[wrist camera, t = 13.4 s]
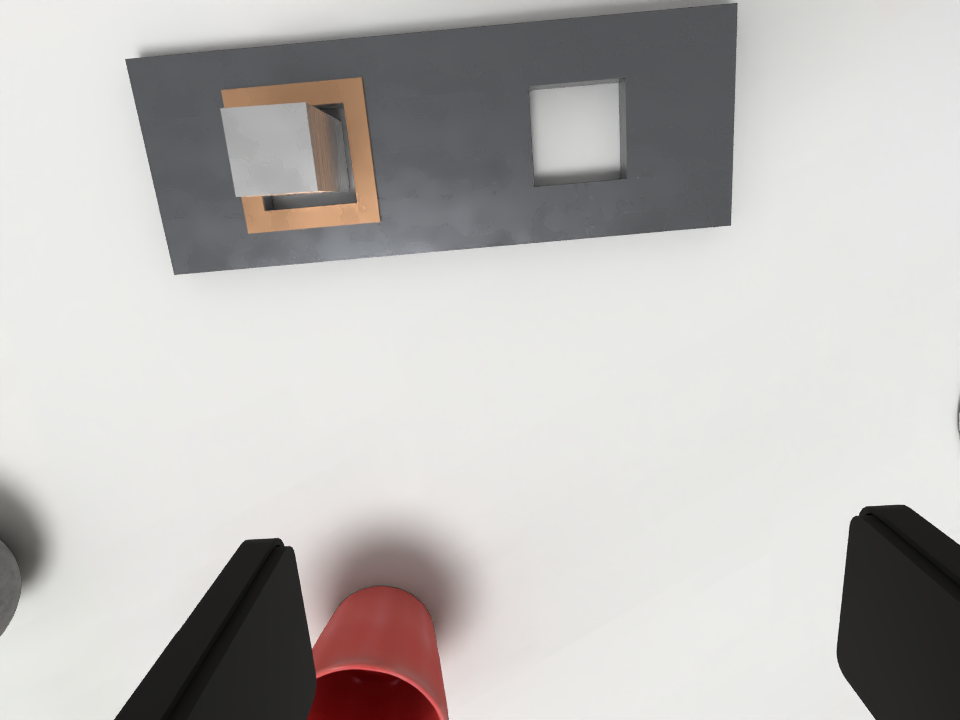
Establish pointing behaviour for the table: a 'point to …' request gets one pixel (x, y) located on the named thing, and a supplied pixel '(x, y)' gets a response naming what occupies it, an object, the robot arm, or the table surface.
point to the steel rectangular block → (284, 150)
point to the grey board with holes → (448, 137)
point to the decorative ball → (8, 586)
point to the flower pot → (378, 660)
